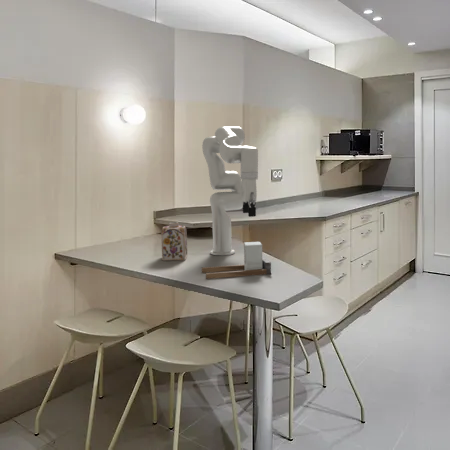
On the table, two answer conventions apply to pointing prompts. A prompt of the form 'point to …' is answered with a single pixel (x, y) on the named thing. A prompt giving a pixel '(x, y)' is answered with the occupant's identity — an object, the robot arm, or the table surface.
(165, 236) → the decorative jar
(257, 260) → the supplement box
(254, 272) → the guide lane
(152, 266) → the table surface
